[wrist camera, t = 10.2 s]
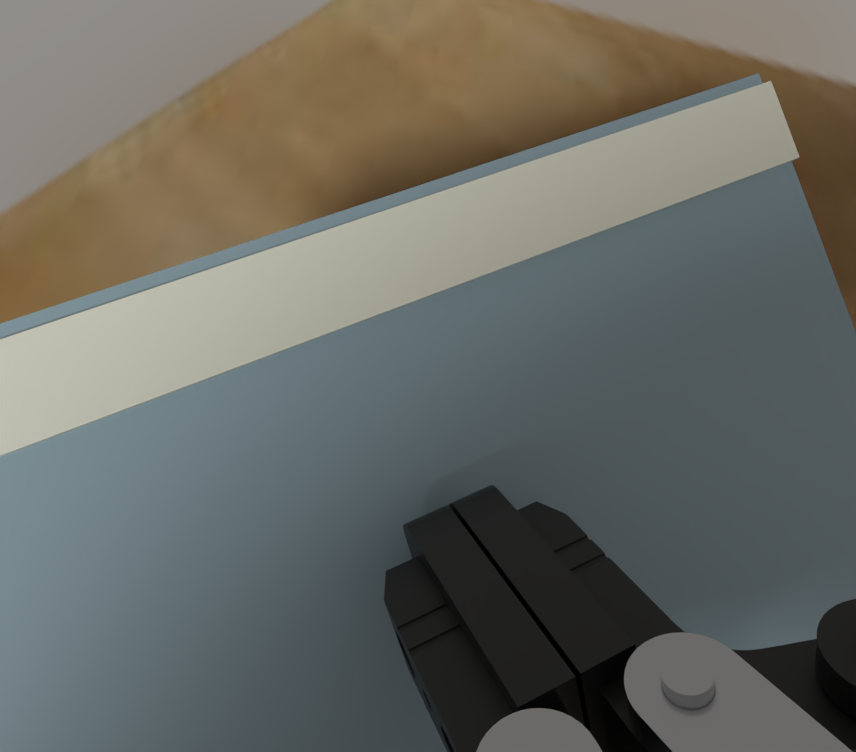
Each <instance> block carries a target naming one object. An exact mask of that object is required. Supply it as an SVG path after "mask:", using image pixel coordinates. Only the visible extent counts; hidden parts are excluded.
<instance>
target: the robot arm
mask: <svg viewBox="0 0 856 752" xmlns="http://www.w3.org/2000/svg"><path fill="white" fill-rule="evenodd" d="M403 529H404V534H405V537H406V540H407V543H408V547H409V550H410V553H411V556H412V559H411V560H409V561H407V562H404V563H402V564H400V565H398V566H396V567H394V568H391V569H389V570H387V571H386V576H385V591H384V602H385V605H386V608H387V611H388V613H389V616H390V619H391V622H392V625H393V628H394V630H395V633H396V636H397V639H398V642H399V644H400V647H401V650H402V653H403V656H404V659H405V661H406V664H407V667H408V670H409V672H410V674H411V676H412V678H413V681H414V683H415V685H416V687H417V689H418V691H419V693H420V695H421V697H422V699H423V701H424V704H425V706H426V708H427V710H428V712H429V714H430V717H431V719H432V721H433V722H434V724H435V727H436V729H437V731H438V733H439V736H440V738H441V740H442V742H443V744H444V746H445V748H446V750H447V752H856V599H853V600H848V601H844V602H842V603H840V604H837V605H835V606H834V607H832V608H831V609H829V610H828V611H827V612H826V613H825V614H824V615H823V616H822V618H821V620H820V622H819V624H818V628H817V639H813V640H807V641H802V642H796V643H791V644H785V645H780V646H774V647H769V648H763V649H755V650H733V649H730V648H728V647H727V646H726V645H724V644H722V643H720V642H718V641H716V640H714V639H712V638H709V637H706V636H703V635H699V634H694V633H686V632H684V631H683V630H682V629H681V628H679V627H678V626H677V625H676V624H675V623H674V622H673V621H672V620H671V619H670V618H669V617H668V616H667V615H666V614H665V613H664V612H663V611H662V610H661V609H660V608H659V607H658V606H657V605H656V604H655V603H654V602H653V601H652V600H651V599H650V598H649V597H648V596H647V595H646V594H645V593H644V592H643V591H642V590H641V589H640V588H639V587H638V586H637V585H636V584H635V583H634V582H633V581H632V580H631V579H630V578H629V577H628V576H627V575H626V574H625V573H624V572H623V571H622V570H621V569H620V568H619V567H618V566H617V565H616V564H615V563H614V562H613V561H612V560H611V559H610V558H609V557H608V558H607V557H606V555H605V553H604V552H603V551H602V550H601V549H600V548H599V547H598V546H597V544H596V543H595V542H594V541H593V540H592V539H591V540H589V538H588V536H587V534H586V533H585V532H584V531H583V530H582V529H581V528H580V527H579V526H578V525H577V524H576V523H575V522H574V521H573V520H572V519H571V518H570V517H569V516H568V515H567V514H565V513H563V512H560V511H558V510H556V509H553V508H551V507H549V506H546V505H544V504H542V503H539V502H537V501H536V502H534V503H532V504H529V505H527V506H525V507H523V508H521V509H519V510H516V509H515V508H514V507H513V505H512V504H511V503H510V502H509V501H508V500H507V499H506V498H505V496H504V495H503V494H502V493H501V492H500V491H499V490H498V489H497V488H496V487H495V486H493V485H490V486H488V487H485V488H483V489H481V490H479V491H477V492H474V493H472V494H470V495H468V496H465V497H463V498H461V499H459V500H456V501H454V502H452V503H450V504H449V506H447V505H446V506H443V507H441V508H439V509H437V510H435V511H432V512H430V513H428V514H426V515H423V516H421V517H419V518H417V519H414V520H412V521H410V522H408V523H406V524H403Z"/></svg>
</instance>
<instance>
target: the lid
mask: <svg viewBox="0 0 856 752" xmlns="http://www.w3.org/2000/svg"><path fill="white" fill-rule="evenodd" d="M797 158H799V154H798V151H797V149H796V146H795V143H794V141H793V138H792V135H791V133H790V130H789V127H788V125H787V122H786V119H785V117H784V114H783V111H782V109H781V106H780V103H779V101H778V98H777V95H776V92H775V90H774V87H773V84H772V82H771V81H769V82H766V83H762V80H761V78H760V75H759V73H757V74H754V75H751V76H748V77H745V78H742V79H739V80H736V81H733V82H730V83H727V84H724V85H721V86H718V87H715V88H712V89H709V90H706V91H703V92H700V93H697V94H694V95H691V96H688V97H685V98H682V99H679V100H676V101H673V102H670V103H667V104H664V105H661V106H658V107H655V108H651V109H648V110H645V111H642V112H639V113H636V114H633V115H630V116H627V117H624V118H621V119H618V120H615V121H612V122H609V123H606V124H603V125H600V126H597V127H594V128H591V129H588V130H585V131H582V132H579V133H576V134H573V135H570V136H567V137H564V138H561V139H558V140H555V141H552V142H549V143H546V144H543V145H540V146H537V147H534V148H530V149H527V150H524V151H521V152H518V153H515V154H512V155H509V156H506V157H503V158H500V159H497V160H494V161H491V162H488V163H485V164H482V165H479V166H476V167H473V168H470V169H467V170H464V171H461V172H458V173H455V174H452V175H449V176H446V177H443V178H440V179H437V180H434V181H431V182H428V183H425V184H422V185H419V186H416V187H412V188H409V189H406V190H403V191H400V192H397V193H394V194H391V195H388V196H385V197H382V198H379V199H376V200H373V201H370V202H367V203H364V204H361V205H358V206H355V207H352V208H349V209H346V210H343V211H340V212H337V213H334V214H331V215H328V216H325V217H322V218H319V219H316V220H313V221H310V222H307V223H304V224H301V225H298V226H294V227H291V228H288V229H285V230H282V231H279V232H276V233H273V234H270V235H267V236H264V237H261V238H258V239H255V240H252V241H249V242H246V243H243V244H240V245H237V246H234V247H231V248H228V249H225V250H222V251H219V252H216V253H213V254H210V255H207V256H204V257H201V258H198V259H195V260H192V261H189V262H186V263H183V264H180V265H177V266H173V267H170V268H167V269H164V270H161V271H158V272H155V273H152V274H149V275H146V276H143V277H140V278H137V279H134V280H131V281H128V282H125V283H122V284H119V285H116V286H113V287H110V288H107V289H104V290H101V291H98V292H95V293H92V294H89V295H86V296H83V297H80V298H77V299H74V300H71V301H68V302H65V303H62V304H59V305H55V306H52V307H49V308H46V309H43V310H40V311H37V312H34V313H31V314H28V315H25V316H22V317H19V318H16V319H13V320H10V321H7V322H4V323H1V324H0V752H447V750H446V748H445V746H444V744H443V742H442V740H441V738H440V736H439V733H438V731H437V729H436V727H435V724H434V722H433V721H432V719H431V717H430V714H429V712H428V710H427V708H426V706H425V704H424V701H423V699H422V697H421V695H420V693H419V691H418V689H417V687H416V685H415V683H414V681H413V678H412V676H411V674H410V672H409V670H408V667H407V664H406V661H405V659H404V656H403V653H402V650H401V647H400V644H399V642H398V639H397V636H396V633H395V630H394V628H393V625H392V622H391V619H390V616H389V613H388V611H387V608H386V605H385V602H384V591H385V576H386V571H387V570H389V569H391V568H394V567H396V566H398V565H400V564H402V563H404V562H407V561H409V560H411V559H412V556H411V553H410V550H409V547H408V543H407V540H406V537H405V534H404V529H403V524H406V523H408V522H410V521H412V520H414V519H417V518H419V517H421V516H423V515H426V514H428V513H430V512H432V511H435V510H437V509H439V508H441V507H443V506H446V505H447V506H449V504H450V503H452V502H454V501H456V500H459V499H461V498H463V497H465V496H468V495H470V494H472V493H474V492H477V491H479V490H481V489H483V488H485V487H488V486H490V485H493V486H495V487H496V488H497V489H498V490H499V491H500V492H501V493H502V494H503V495H504V496H505V498H506V499H507V500H508V501H509V502H510V503H511V504H512V505H513V507H514V508H515V509H516V510H519V509H521V508H523V507H525V506H527V505H529V504H532V503H534V502H536V501H537V502H539V503H542V504H544V505H546V506H549V507H551V508H553V509H556V510H558V511H560V512H563V513H565V514H567V515H568V516H569V517H570V518H571V519H572V520H573V521H574V522H575V523H576V524H577V525H578V526H579V527H580V528H581V529H582V530H583V531H584V532H585V533H586V534H587V536H588V538H589V540H591V539H592V540H593V541H594V542H595V543H596V544H597V546H598V547H599V548H600V549H601V550H602V551H603V552H604V553H605V555H606V557H607V558H608V557H609V558H610V559H611V560H612V561H613V562H614V563H615V564H616V565H617V566H618V567H619V568H620V569H621V570H622V571H623V572H624V573H625V574H626V575H627V576H628V577H629V578H630V579H631V580H632V581H633V582H634V583H635V584H636V585H637V586H638V587H639V588H640V589H641V590H642V591H643V592H644V593H645V594H646V595H647V596H648V597H649V598H650V599H651V600H652V601H653V602H654V603H655V604H656V605H657V606H658V607H659V608H660V609H661V610H662V611H663V612H664V613H665V614H666V615H667V616H668V617H669V618H670V619H671V620H672V621H673V622H674V623H675V624H676V625H677V626H678V627H679V628H681V629H682V630H683V631H684V632H686V633H694V634H699V635H703V636H706V637H709V638H712V639H714V640H716V641H718V642H720V643H722V644H724V645H726V646H727V647H728V648H730V649H733V650H755V649H763V648H769V647H774V646H780V645H785V644H791V643H796V642H802V641H807V640H813V639H817V628H818V624H819V622H820V620H821V618H822V616H823V615H824V614H825V613H826V612H827V611H828V610H829V609H831V608H832V607H834V606H835V605H837V604H840V603H842V602H844V601H848V600H853V599H856V331H855V328H854V326H853V323H852V320H851V318H850V315H849V312H848V310H847V307H846V304H845V302H844V299H843V296H842V294H841V291H840V288H839V286H838V283H837V280H836V278H835V275H834V272H833V270H832V267H831V264H830V262H829V259H828V256H827V254H826V251H825V248H824V246H823V243H822V240H821V238H820V235H819V232H818V230H817V227H816V224H815V222H814V219H813V216H812V214H811V211H810V208H809V206H808V203H807V200H806V198H805V195H804V192H803V190H802V187H801V184H800V182H799V179H798V176H797V174H796V171H795V168H794V166H793V163H792V161H793V160H795V159H797Z"/></svg>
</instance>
